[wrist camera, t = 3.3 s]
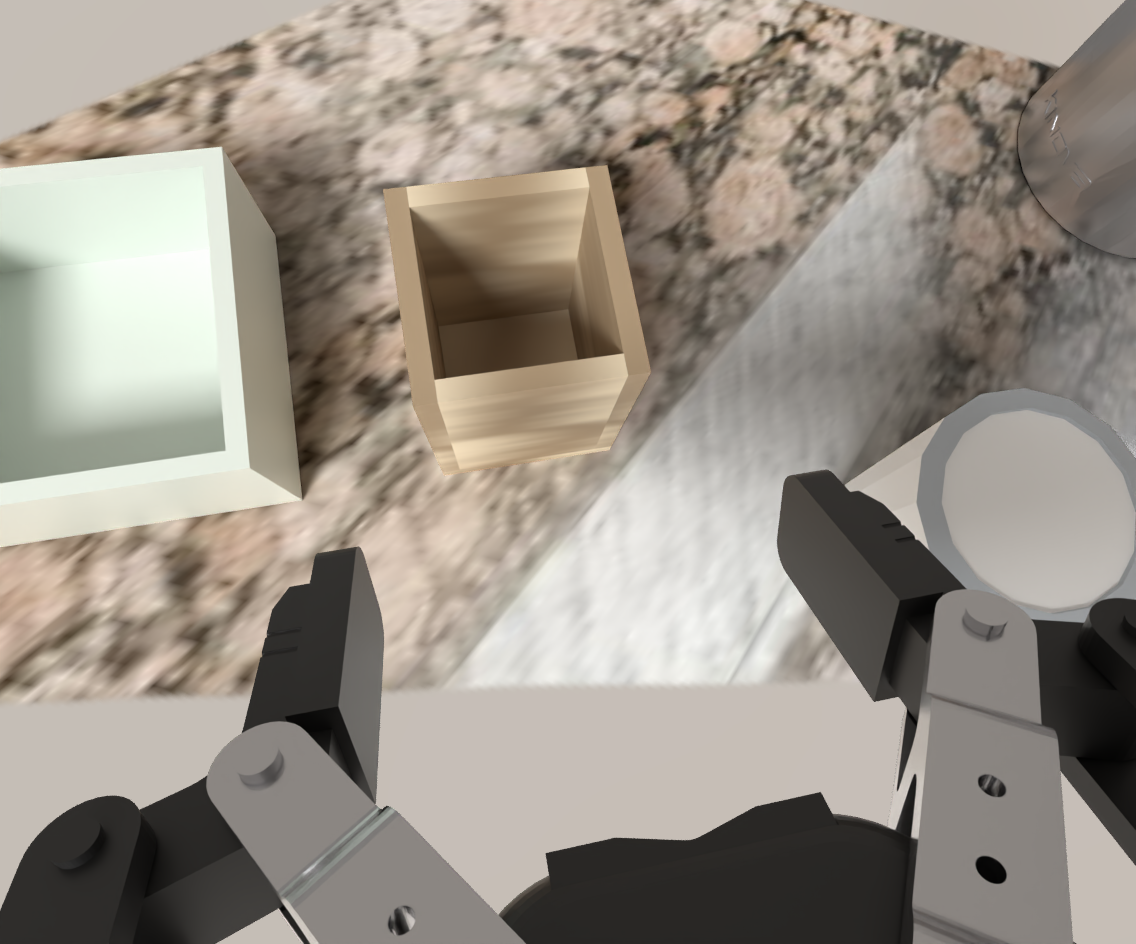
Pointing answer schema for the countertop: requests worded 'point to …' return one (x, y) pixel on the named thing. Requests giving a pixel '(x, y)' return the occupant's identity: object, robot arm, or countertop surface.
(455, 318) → the birch crate
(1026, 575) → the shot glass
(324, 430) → the countertop surface
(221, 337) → the sage crate
